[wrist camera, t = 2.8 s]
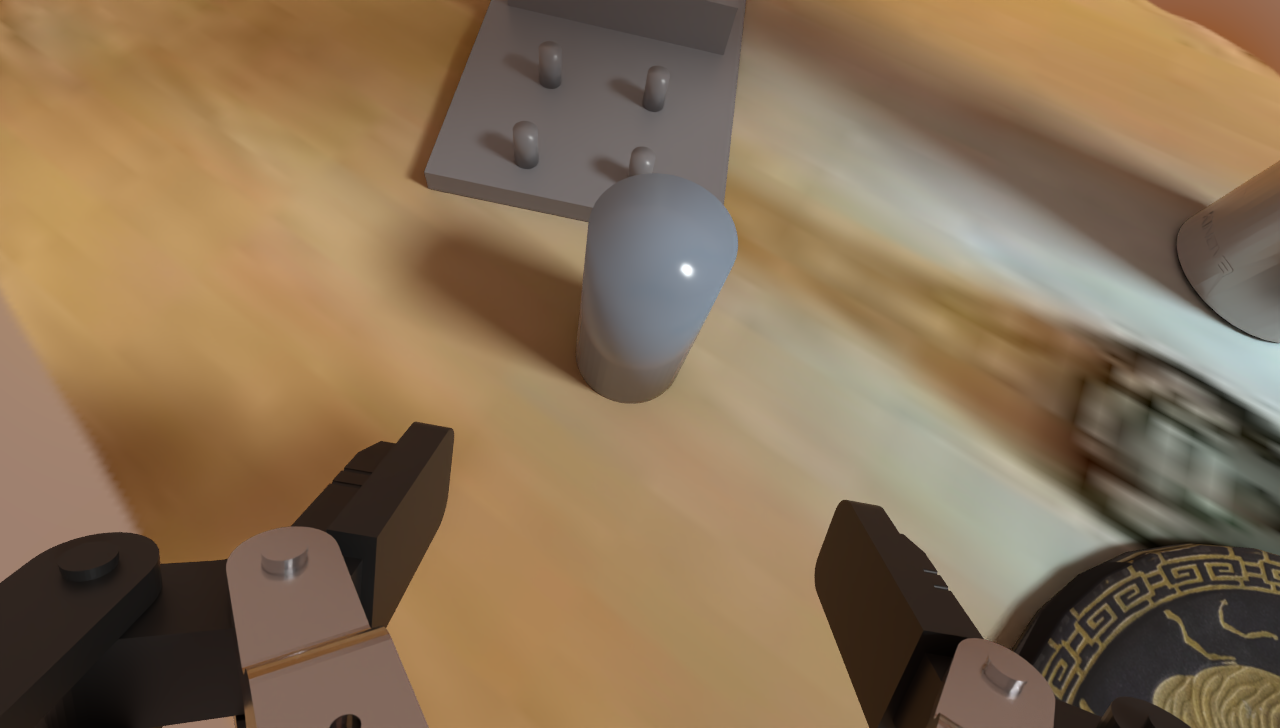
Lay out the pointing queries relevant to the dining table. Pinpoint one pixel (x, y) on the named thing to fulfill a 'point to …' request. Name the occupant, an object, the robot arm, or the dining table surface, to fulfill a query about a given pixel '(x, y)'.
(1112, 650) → the decorative plate
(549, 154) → the dish rack
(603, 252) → the grey dome-topped cylinder
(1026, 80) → the dining table surface
